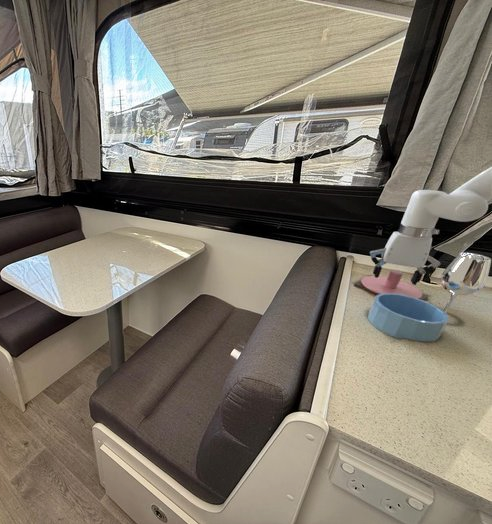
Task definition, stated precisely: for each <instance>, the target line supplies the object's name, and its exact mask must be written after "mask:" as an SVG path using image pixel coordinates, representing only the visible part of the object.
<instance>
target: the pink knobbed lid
mask: <svg viewBox="0 0 492 524" xmlns="http://www.w3.org/2000/svg"><path fill="white" fill-rule="evenodd" d="M403 274H404V273H403V272H402V271H401V270H396V269H390V271H389V273H388V276H387V277H386V276H380V275H379V277H378V278H375V275H367V276H364V277H362V278H361V280H360V281H361V283H362V284H363V285H364V286H365V287H366V288H368V289H369V290H371V291H373V292H375V293H378V294H381V293H394V294H402V295H406V296H410V297H414V298H417V299H420V298H421V297H422V294H423V293H422V291H421V289H418V288H417V287H415V286H414V285H413V284H410V283H407V282H405V281H402V280H401V279H402V277H403V276H404V275H403Z"/></svg>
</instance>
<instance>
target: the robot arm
mask: <svg viewBox="0 0 492 524" xmlns="http://www.w3.org/2000/svg"><path fill="white" fill-rule="evenodd" d="M491 200H492V166H491V167H489V168H487V169H485V170H484V171H482V172H480V173H479V174H477V175H475V176H474V177H472V178H471V179H470V180H468V181H466V182H465V183H463V184H462V185H460V186H459V187H457V188H456V189H455V190H453V191H452V192H450V193H447V192H445V191H442V190H434V189H419V190H415V191H414V192H413V193H412V194H411V196H410V199H409V202H408V204H407V207H406V209H405V212H404V214H403V217H402V219H401V222H400V224H399V227H398V228H397V231H393V232H392V234H391V235H390V237H389V238H388V240H387V243H386V244H385V247H384V248H379V249H375V250H371V251H369V256H370V258H371V261H372V263H374V265H375V266H374V269H373V271H372V274H373V276H375V278H378V277H379V276H380V274H381V272H382V269H383V267H382V266H384V265H385V264H391V265H395V266H396V265H397V266H402V267H403V266H404V267H408V268H416V270H414V272H413V274H412V277H411V278H410V282H411V285H412V286H414V285H415V286H417V284H418V283H420V281H421V280H422V277H423V275H426V273H430V272H432V271H434V270H435V269H436V268H438V267H439V266H441V264H442V263H441V262H440V261H439V260H437V259H435V258H434V257H432V256H431V255H429V254H430V251H431V249H432V244H433V243H432V242H433V237H432V236H433V235H439V234H440V229H437V228H435V227H436V224H437V222H438V221H439V218H441V219H445V220H450V221H454V222H462V223H463V222H464V223H467V222H473V221H475V220H478V219H480V218H482V217H484V215H485V214H486V213H487V212H488V210H489V201H491ZM377 255H381V258H380V259H378V258H377ZM427 261H428V262H429V263H430V264H429V265H426V264H427V263H426V262H427ZM425 265H426V266H425Z"/></svg>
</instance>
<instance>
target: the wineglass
mask: <svg viewBox="0 0 492 524" xmlns="http://www.w3.org/2000/svg"><path fill="white" fill-rule="evenodd" d="M491 264H492V258H490V257H489V256H485V255H483V254H478V253H473V252H472V253H471V252H459V253H458V254H457V255H456V256H455V258H453V260H452V261H451V262H450V263H449V264H448V266H447V267H445V269H444V270H443V272H442V274H441V276H440V277H439V278H440V279H439V281H440V285H441V287H442V288H443V289H444V290H445V291H446V292H447V293H448V294H450V296H449V300H448V301H447V303H446V305H445V307H444V309H443V311H444V312H445V313H446V314H447V313H448V311H449V309H450V307H451V306H452V303H453V302H454V300H455V299H457V297H459V296H460V297H463V296H469V295H474V294H476V293H478V292H480V291H481V290H482V289H483V288H484V287H485V286H486V283H487V280H488V278H489V274H490V268H491Z"/></svg>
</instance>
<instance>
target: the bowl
mask: <svg viewBox="0 0 492 524" xmlns="http://www.w3.org/2000/svg"><path fill="white" fill-rule="evenodd" d="M367 319H368V322H369V323H370V324H371V325H372V326H373V327H375V328H376V329H378V330H379V331H381V332H382V333H384V334H386V335H388V336H390V337H392V338H395V339H398V340H401V341H402V340H403V339H408V340H412V341H418V342H423V343H425V342H436V341H437V340H438V339H439V338H440V337H441V335H443V334H442V333H443V332H444V331H445V328H446V326H447V325H448V323H449V321H450V318H449V314H447V313H445V312H444V310H442V309H441V308H440V307H438V306H436V305H434V304H433V303H430V302H428V301H426V300H420V299H417V298H414V297H410V296H406V295H402V294H394V293H381V294H379V295H375V296H374V298H373V301H372V304H371V306H370V307H369V311H368V314H367Z"/></svg>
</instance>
